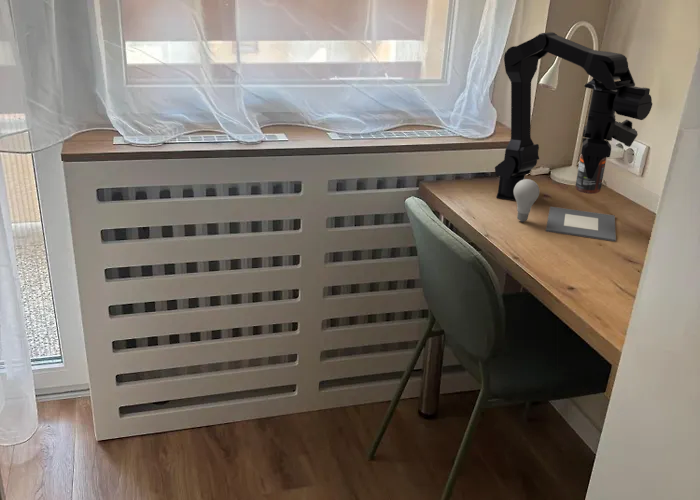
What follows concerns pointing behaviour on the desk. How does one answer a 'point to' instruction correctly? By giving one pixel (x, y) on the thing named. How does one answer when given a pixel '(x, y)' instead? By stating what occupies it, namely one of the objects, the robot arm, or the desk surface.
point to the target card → (581, 223)
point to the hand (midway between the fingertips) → (590, 174)
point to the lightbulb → (525, 197)
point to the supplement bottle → (589, 184)
